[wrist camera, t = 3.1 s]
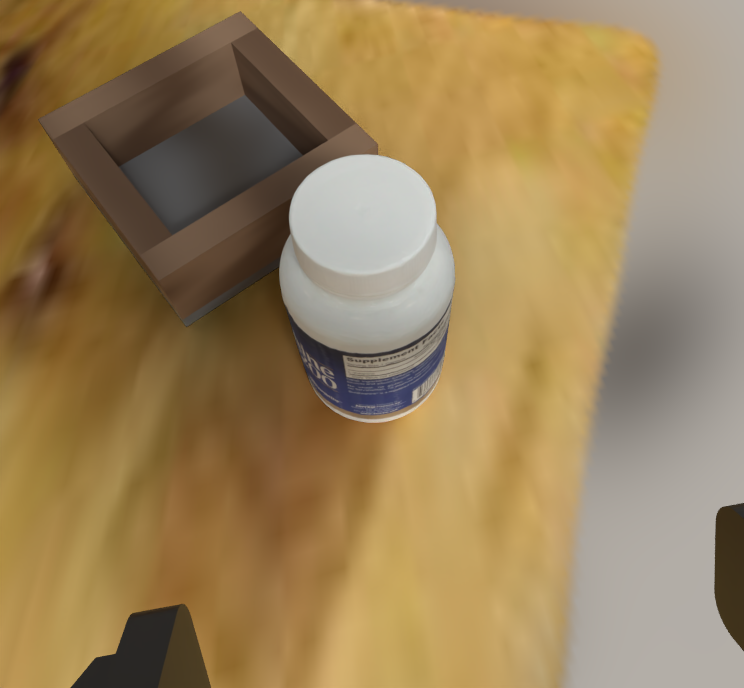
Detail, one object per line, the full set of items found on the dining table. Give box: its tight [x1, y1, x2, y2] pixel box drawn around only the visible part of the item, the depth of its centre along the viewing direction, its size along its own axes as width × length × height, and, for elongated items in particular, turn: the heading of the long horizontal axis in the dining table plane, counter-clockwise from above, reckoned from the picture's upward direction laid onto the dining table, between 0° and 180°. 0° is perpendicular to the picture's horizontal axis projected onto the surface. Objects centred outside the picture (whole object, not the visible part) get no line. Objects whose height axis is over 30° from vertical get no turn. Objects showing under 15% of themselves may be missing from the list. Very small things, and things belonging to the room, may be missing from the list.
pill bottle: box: [279, 154, 455, 423], centre depth 23 cm, size 5×5×10 cm
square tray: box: [38, 11, 378, 327], centre depth 30 cm, size 10×10×4 cm
